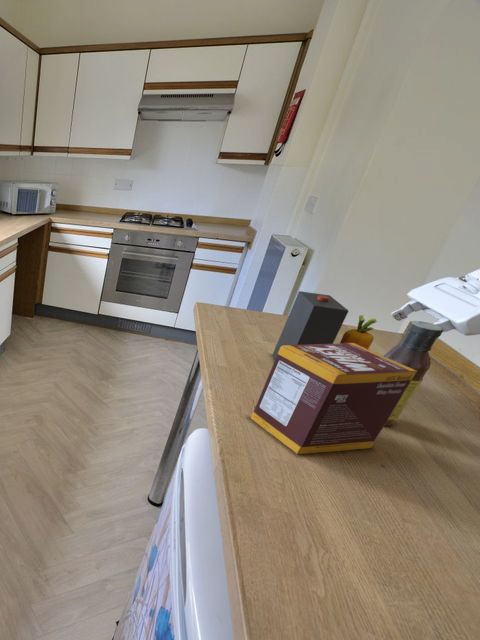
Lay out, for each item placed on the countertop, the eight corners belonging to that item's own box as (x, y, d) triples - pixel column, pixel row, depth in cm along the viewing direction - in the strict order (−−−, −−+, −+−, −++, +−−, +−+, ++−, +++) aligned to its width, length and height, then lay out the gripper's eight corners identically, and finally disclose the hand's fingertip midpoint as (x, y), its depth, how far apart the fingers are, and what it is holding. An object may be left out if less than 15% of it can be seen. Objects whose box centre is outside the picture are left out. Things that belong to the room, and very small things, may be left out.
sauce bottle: (353, 404, 84) (403, 314, 75) (395, 418, 80) (452, 324, 71) (350, 416, 79) (402, 323, 71) (393, 432, 75) (454, 334, 67)
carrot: (324, 368, 97) (352, 310, 91) (351, 375, 95) (382, 315, 88) (325, 376, 94) (355, 316, 87) (353, 384, 91) (386, 322, 85)
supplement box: (372, 448, 71) (419, 370, 64) (297, 455, 68) (338, 374, 61) (317, 413, 80) (353, 341, 73) (249, 418, 77) (280, 344, 71)
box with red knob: (357, 371, 97) (395, 300, 89) (379, 393, 88) (422, 317, 80) (272, 355, 103) (300, 287, 95) (283, 374, 94) (315, 301, 86)
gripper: (453, 263, 87) (374, 298, 95) (525, 289, 70) (421, 330, 78) (469, 286, 88) (389, 319, 95) (544, 318, 71) (439, 355, 78)
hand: (404, 324), depth 86 cm, fingers open, 8 cm apart
